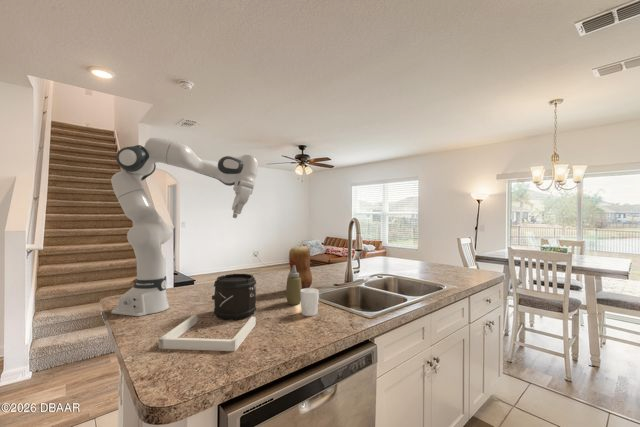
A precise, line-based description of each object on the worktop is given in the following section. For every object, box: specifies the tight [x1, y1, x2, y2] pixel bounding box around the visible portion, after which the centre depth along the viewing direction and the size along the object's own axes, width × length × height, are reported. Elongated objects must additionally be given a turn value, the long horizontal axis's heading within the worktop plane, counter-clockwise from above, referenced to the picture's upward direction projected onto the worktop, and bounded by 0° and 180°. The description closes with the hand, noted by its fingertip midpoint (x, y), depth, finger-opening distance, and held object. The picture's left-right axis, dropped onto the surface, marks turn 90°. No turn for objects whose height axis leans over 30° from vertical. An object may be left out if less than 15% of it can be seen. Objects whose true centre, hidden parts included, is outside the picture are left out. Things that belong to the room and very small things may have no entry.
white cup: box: [300, 287, 320, 317], centre depth 129 cm, size 8×8×10 cm
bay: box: [158, 314, 257, 352], centre depth 106 cm, size 25×22×3 cm
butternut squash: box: [286, 245, 313, 289], centre depth 164 cm, size 14×13×25 cm
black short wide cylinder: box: [211, 273, 257, 321], centre depth 128 cm, size 18×18×16 cm
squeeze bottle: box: [285, 265, 302, 306], centre depth 143 cm, size 8×8×18 cm
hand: (236, 215), depth 137 cm, fingers open, 8 cm apart
